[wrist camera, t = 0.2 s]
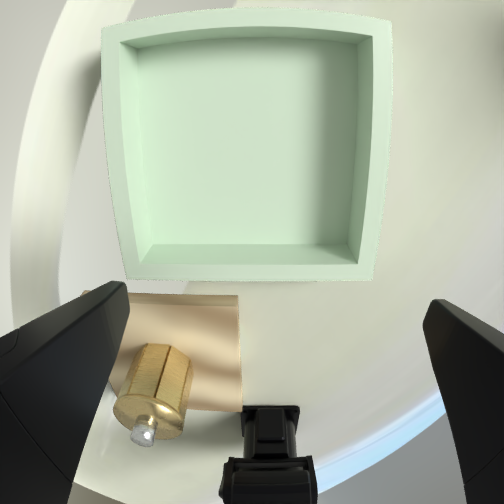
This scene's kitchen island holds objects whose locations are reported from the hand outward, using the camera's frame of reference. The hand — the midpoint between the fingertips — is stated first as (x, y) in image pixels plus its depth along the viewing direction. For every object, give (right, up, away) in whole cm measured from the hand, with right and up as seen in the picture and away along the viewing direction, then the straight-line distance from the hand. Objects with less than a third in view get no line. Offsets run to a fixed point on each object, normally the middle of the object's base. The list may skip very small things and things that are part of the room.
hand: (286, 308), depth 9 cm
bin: (-1, +9, +12) cm, 15 cm away
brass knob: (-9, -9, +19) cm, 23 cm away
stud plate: (-9, -8, +20) cm, 24 cm away
